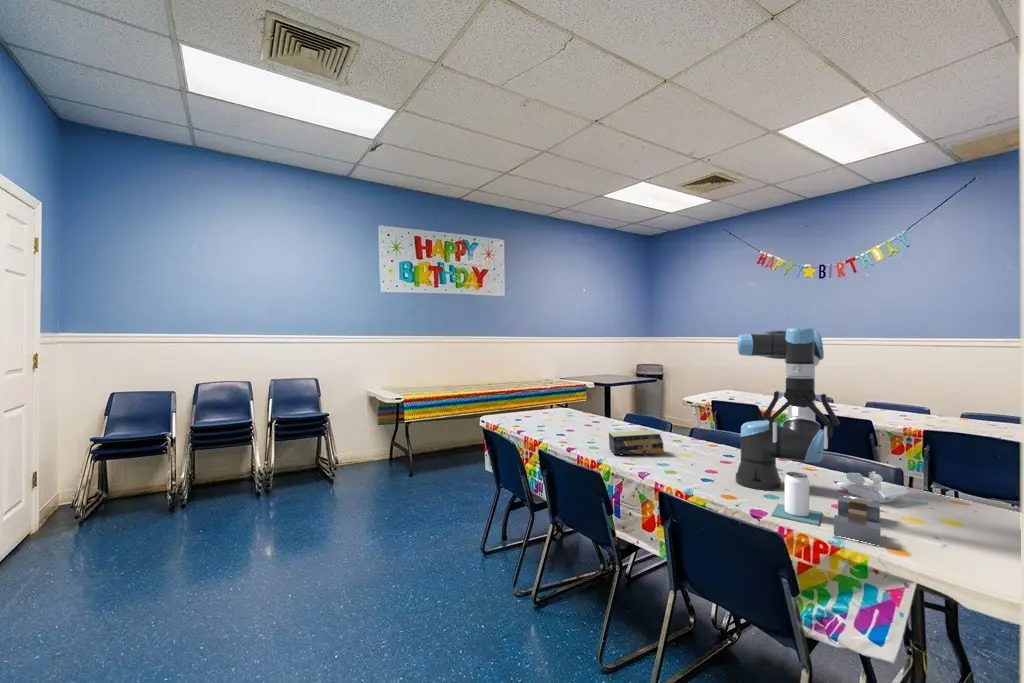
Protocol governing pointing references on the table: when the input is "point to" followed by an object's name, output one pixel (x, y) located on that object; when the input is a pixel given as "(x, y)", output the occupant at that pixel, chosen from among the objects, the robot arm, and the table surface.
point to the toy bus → (636, 442)
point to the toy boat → (871, 488)
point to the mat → (811, 518)
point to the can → (797, 494)
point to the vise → (858, 519)
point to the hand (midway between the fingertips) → (799, 444)
